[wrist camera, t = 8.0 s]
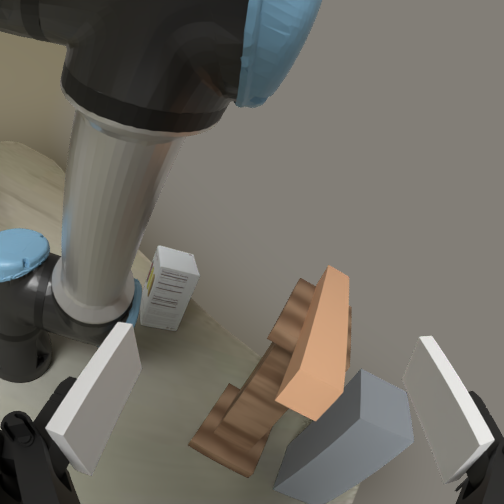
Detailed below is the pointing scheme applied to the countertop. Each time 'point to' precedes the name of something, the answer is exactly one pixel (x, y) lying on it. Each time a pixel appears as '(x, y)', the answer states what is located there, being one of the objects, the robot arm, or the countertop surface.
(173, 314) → the supplement box
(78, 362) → the countertop surface
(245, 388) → the stand
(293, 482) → the slate block
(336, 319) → the rod
